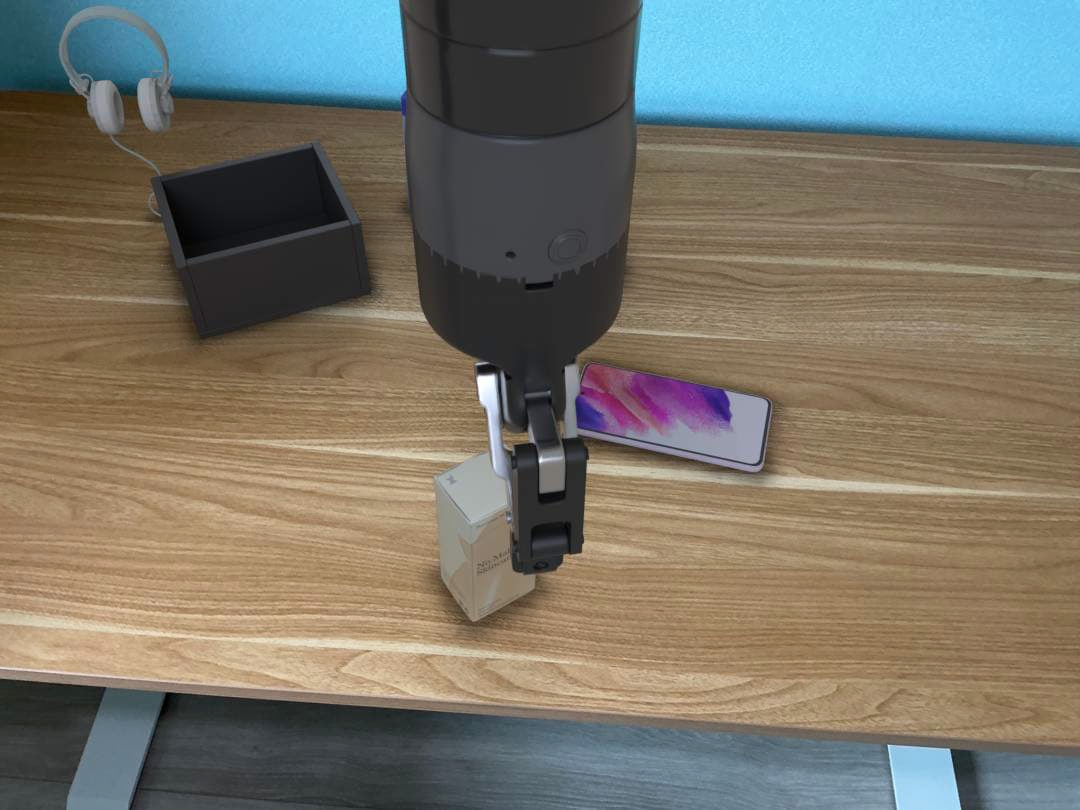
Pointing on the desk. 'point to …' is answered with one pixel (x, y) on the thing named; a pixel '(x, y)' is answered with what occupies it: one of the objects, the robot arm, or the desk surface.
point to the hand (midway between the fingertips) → (520, 486)
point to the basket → (262, 237)
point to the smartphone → (673, 416)
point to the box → (476, 538)
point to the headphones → (104, 93)
